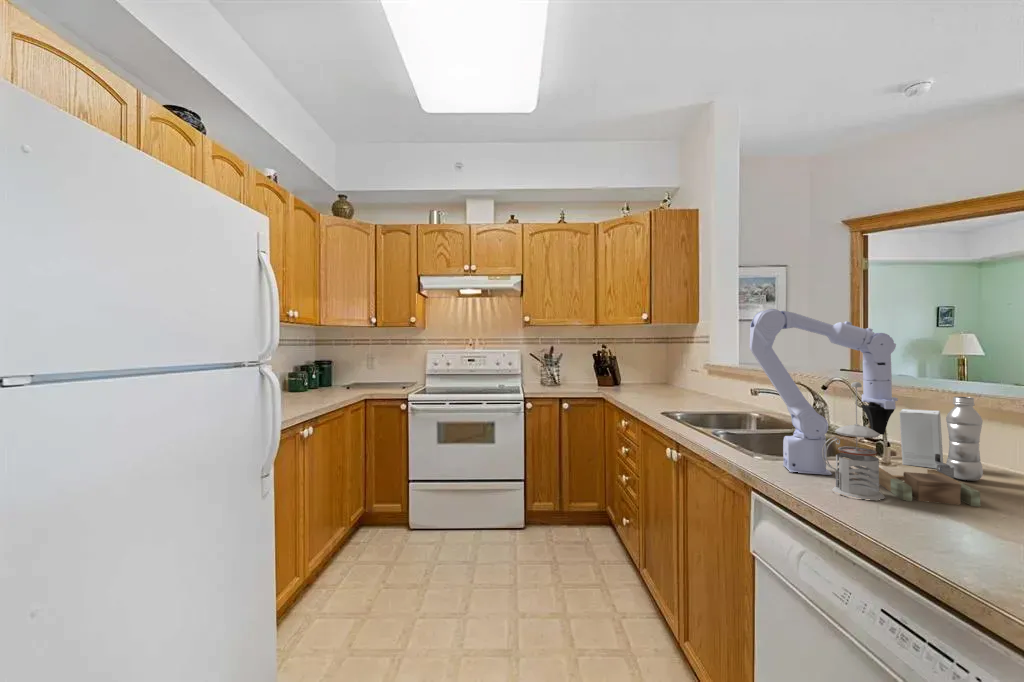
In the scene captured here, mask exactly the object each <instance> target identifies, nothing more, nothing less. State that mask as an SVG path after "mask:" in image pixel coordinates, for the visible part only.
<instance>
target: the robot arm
mask: <svg viewBox="0 0 1024 682" xmlns="http://www.w3.org/2000/svg"><path fill="white" fill-rule="evenodd" d="M852 323H853V322H851V321H847V320H846V321H844V322H841V321H839V322H836V323H835V324H834V323H833V324H830V323H827V322H824V321H822V320H818V319H816V318H812V317H809V316H807V315H806V316H805V315H802V314H799V313H796V312H791V311H786V310H779V309H776V308H768V309H765V310H761V311H759V312H757V313H756V314H754V316H753V317H752V319H751V322H750V325H749V350H750V352H751V354H752V355H753V357H754V358H755V360H756V361H757V363H758V364H759V367H761V368H762V370H763V372H764V374H766V375H765V376H766V377H767V378H768V379H769V381H770V382H771V384H772V386H773V388H775V390H776V392H777V393H778V395H779V396H780V398H781V399H782V402H783V403H784V404H785V406H786V409H787V411H788V413H789V414H790V417H791V423H792V424H791V425H792V426H793V427H794V428H795V430H794V432H793V435H785V436H783V441H782V443H783V444H782V445H783V446H782V449H783V450H782V455H783V463H782V465H783V467H784V468H785V467H786V468H787V469H788V470H789V471H790V472H789V471H788V470H787V469H786V468H785V469H786V470H787V471H788V472H789V473H793V472H798V473H797V474H809V475H810V474H811V475H812V474H813V475H823V476H825V475H827V476H828V475H829V476H832V474H833V473H832V472H831V471H830V470H829V469H827V464H826V463H827V460H826V454H825V452H826V449H827V444H826V445H825V447H824V450H823V451H824V459H825V461H826V463H825V462H824V460H823V457H822V448H823V446H824V444H825V442H826V441H827V439H826V437H827V436H826V434H827V433H828V430H829V423H828V421H827V418H825V417H824V416H823V415H822V414H819V413H818V412H817V411H816V409H815V408H814V407H813V406H812V405H811V403H810V402H809V401H808V400H807V399H806V397H805V396H804V395H803V393H802V391H801V390H800V388H799V387H798V385H797V383H796V382H795V381H794V379H793V378H792V376H791V374H790V373H789V371H788V370H787V369H786V367H785V366H784V364H783V363H782V361H781V360H780V358H779V356H778V355H777V354H776V352H775V350H774V349H773V345H774V343H775V340H776V337H777V336H778V334H779V333H780V332H781V331H782V330H785V329H787V330H788V329H797V330H798V329H799V330H802V331H805V332H810V333H814V334H818V335H822V336H825V337H827V339H828V341H829V342H830V343H831V344H833V345H837V346H841V347H844V348H848V349H851V350H854V351H858V352H859V351H860V352H861V353H862V389H863V390H862V394H861V402H863V403H868V404H867V405H864V404H863V405H861V408H862V410H863V411H864V413H865V415H866V418H867V419H868V423H869V426H870V427H869V428H870V429H872V430H874V431H876V432H877V433H879V434H880V435H885V432H886V430H887V426H888V422H889V420H890V418H891V416H892V414H893V413H894V412H895V410H896V409H897V408H896V402H897V401H899V398H898V397H895V396H893V388H892V387H893V386H892V378H893V377H892V373H893V372H892V354H893V352H894V351H896V347H897V344H896V343H895V341H894V339H893V337H891V336H890V335H889V334H887V333H885V332H873V330H874V329H872V328H871V327H867V328H863V327H860V326H857V325H853V324H852Z"/></svg>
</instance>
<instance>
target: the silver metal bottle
mask: <svg viewBox="0 0 1024 682" xmlns="http://www.w3.org/2000/svg"><path fill="white" fill-rule="evenodd" d="M952 405H954V406H953V408H951V410H949V411H948V413H947V415H946V418H945V422H946V426H947V432H948V439H949V441H948V444H949V447H948V455H947V458H946V463H945V464H948V465H950V466H951V467H954V479H957V480H961V481H966V480H967V481H969V482H970V481H971V482H973V481H974V482H975V481H980V480H981V479H982V477H983V473H984V470H983V463H982V461H981V454H980V442H981V433H982V427H983V418H982V416H981V415H980V413H978V411H977V410H976V409H975V408H974V406H975V398H974V397H971V396H953V397H952Z"/></svg>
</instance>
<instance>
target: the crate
mask: <svg viewBox="0 0 1024 682" xmlns="http://www.w3.org/2000/svg"><path fill="white" fill-rule="evenodd" d="M902 476H904V480H903V482H904V483H906V484H908V485H909V486H911V487H912V498H913V499H915V500H916V499H917V500H916V501H918V502H923V501H929V502H928V503H935V502H939V503H938V504H946V503H949V504H950V505H958V504H961V500H960V489H961V485H960V484H959V483H958V482H956V481H954V480H952V479H950V478H948V477H946V476H944V475H939V474H927V473H926V472H924V473H923V472H922V473H921V472H909V471H904V472H903V475H902ZM949 504H948V505H949Z"/></svg>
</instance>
